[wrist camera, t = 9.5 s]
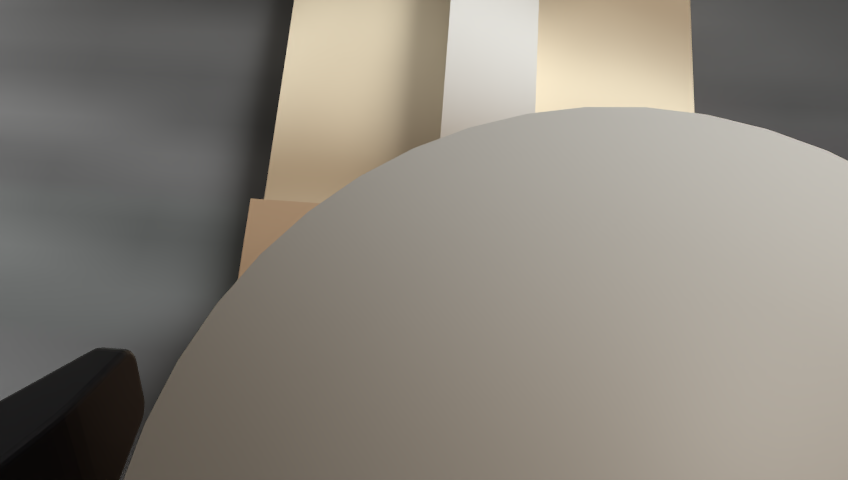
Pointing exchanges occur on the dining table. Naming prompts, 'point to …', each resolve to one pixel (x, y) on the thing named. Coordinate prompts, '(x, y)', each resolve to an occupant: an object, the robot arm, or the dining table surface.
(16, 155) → the dining table surface
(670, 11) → the rail track
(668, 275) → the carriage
